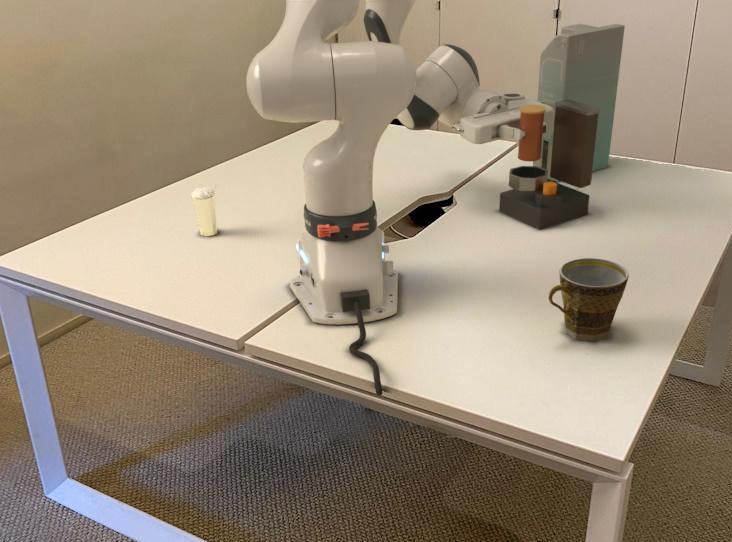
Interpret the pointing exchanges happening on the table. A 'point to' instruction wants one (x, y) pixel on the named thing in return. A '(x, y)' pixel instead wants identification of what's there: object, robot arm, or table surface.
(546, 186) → the power button
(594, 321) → the ceramic cup
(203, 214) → the milkshake
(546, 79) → the device
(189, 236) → the table surface
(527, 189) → the coffee maker
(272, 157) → the table surface
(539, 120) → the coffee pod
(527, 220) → the base
